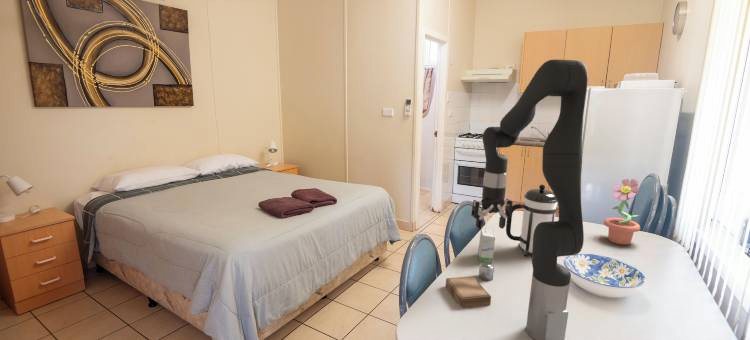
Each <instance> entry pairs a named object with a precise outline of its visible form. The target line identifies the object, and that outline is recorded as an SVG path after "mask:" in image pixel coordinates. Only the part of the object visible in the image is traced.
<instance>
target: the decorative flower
mask: <svg viewBox="0 0 750 340" xmlns="http://www.w3.org/2000/svg"><path fill="white" fill-rule="evenodd" d="M639 189H640V185H639V181H638V180H636V179H635V178H632V179H630V178H623V179H622V180H621V185H618V184H616V185H614V186H613V192H614V193H613V194H612V195H613V197H614V198H615V199H618V201H621V202H620V204H619V206H618V205H616V206H613V207H612V208H611V209H612V210H617V213H618V214H619V215H620V216H621V217H608V218H606V219H604V221H603V224H604V226H605V227H607V228H608V240H609V241H610V242H612V243H614V244H617V245H622V246H623V245H624V246H626V245H630V244H631V242H632V240H633V235H634V233H635V232H636V233H637V232H639V231H641V225H640V224H638V222H635V221H633V220H632V218H635V217H638V216H639V214H633V215H631V214H629V213H627V212H625V211H623V209H624V207H626V208H627V210H630V209H629V203H628V201H629V200H631V199H633V198H634V197H635V196H636V195H637V193H638V192H639ZM622 217H624V218H622Z"/></svg>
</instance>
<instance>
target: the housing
mask: <svg viewBox="0 0 750 340" xmlns="http://www.w3.org/2000/svg"><path fill="white" fill-rule="evenodd" d="M494 273H495V265H494V264H493V263H492V264H491V263H489V262H481V263H480V262H479V269H478V278H479V279H480V280H481V281H485V282H491V281H493V280H494Z"/></svg>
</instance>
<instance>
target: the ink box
mask: <svg viewBox="0 0 750 340" xmlns="http://www.w3.org/2000/svg"><path fill="white" fill-rule="evenodd" d="M495 241H496V235H495V232H494V229H490V228H483V227H482V229H481V230H480V235H479V241H478V242H479V244H478V251H477V255H478V261H479V264H480V263H481V262H489V263H491V264H493V259H494V250H495V243H496V242H495Z"/></svg>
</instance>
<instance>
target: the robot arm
mask: <svg viewBox="0 0 750 340" xmlns="http://www.w3.org/2000/svg"><path fill="white" fill-rule="evenodd" d="M588 83H589V73H588V68H587V66H586V65H585V63H584V62H582V61H580V60H577V59H576V60H574V59H549V60H547V61H545V62H543V64H541V66H539V68H537V70H536V72H535V73H534V75H533V77H532V78H531V80H530V81H529V83H528V84H527V86H526V88H525V89H524V91H523V93H522V94H521V95H520V97H519V99H518V100H517V102H516V103H515V104H514V106H512V108H511V109H510V110H509V111H508V112H507V113H506V114H505V115H504V116H503V117H502V118H501V120H500V123H499V126H488V127H487V128H485V130H484V131H483V132H482V144H483V149H484V155H485V167H484V175H483V181H482V193H481V195H482V196H481V197H482V198H481V200H476V199H474V200H473V201H472V207H471V208H472V209H471V217H473V218H474V219H475V220H476V221H475V227H476V229H477V230H480V231H481V229H482V228H483V218H484V217H486V216H487V215H488V214H493V213H494V214H497V213H498V214H499V216H500V217H499V221H498V227H499V228H500V229H504V228H506V223H507V217H511V216H512V217H513V213H512V206H513V201H512V200H511V199H509V198H506V190H507V189H506V187H507V179H508V178H507V170H508V162H509V161H508V157H507V156H506V155H504V154H501V153H498V151H497V148H498V149H501V148H504V149H505V148H510V147H512V146H513V145H515V143H516V141H517V139H518V137H519V136H520V134H521V133H522V131H524V130H525V129H526V128H527V127H528V126H529V125H530V124H531V123H532V122H533V120H534V118H535V115H536V107H537V104H538V103H540V102H541V101H542V100H543V99H545V98H546V97H560V109H559V115H558V117H557V121H556V123H555V125H553V126H554V127H553V128H552V130H551V131H550V133H549V134H548V136H547V137H546V139H545V142H544V143H543V147H542V159H541V160H542V163H541V164H542V165H541V167H542V169H541V170H542V174H543V176H544V179H545V181H546V183H547V184H548V186H549V188H550V190H551V192H553V193H554V195H555V196H556V199H557V202H558V204H557V205H558V206H557V208H558V220H556V221H555V220H554V221H551V222H541V223H539V224H538V225H537V226H536V228H535V230H534V235H533V248H532V253H531V265H532V275H531V276H532V277H531V285H530V291H529V298H528V308H527V309H528V311H527V316H526V327H525V330H526V333H527V335H528V336H529V337H531V338H532V339H533V340H565V338H566V332H567V325H568V316H569V311H568V310H567V305H568V297H569V291H570V285H571V284H570V283H571V277H572V274H571V271H570V270H569V268H567V267H566V266H564V265H562V264H560V263H558V258H559V257H567V256H571V257H572V256H575V255H578V254H580V252H581V251H582V249H583V247H584V239H585V236H584V235H585V234H584V224H583V223H584V221H583V211H582V167H583V166H582V165H583V128H584V126H583V125H584V114H585V113H584V112H585V106H586V105H585V104H586V98H587V92H588ZM505 198H506V199H505ZM503 207H505V209H503Z"/></svg>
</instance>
